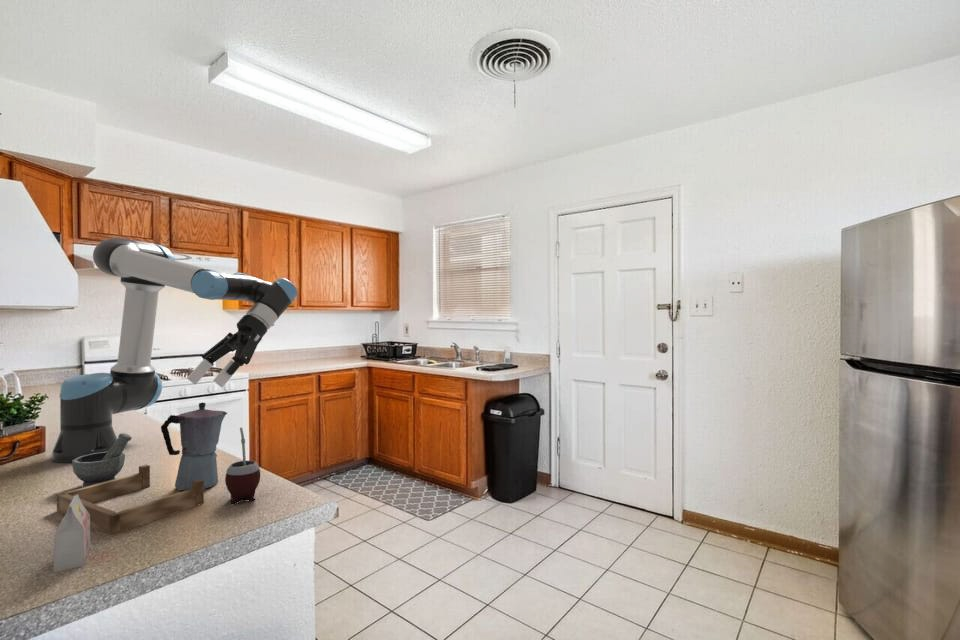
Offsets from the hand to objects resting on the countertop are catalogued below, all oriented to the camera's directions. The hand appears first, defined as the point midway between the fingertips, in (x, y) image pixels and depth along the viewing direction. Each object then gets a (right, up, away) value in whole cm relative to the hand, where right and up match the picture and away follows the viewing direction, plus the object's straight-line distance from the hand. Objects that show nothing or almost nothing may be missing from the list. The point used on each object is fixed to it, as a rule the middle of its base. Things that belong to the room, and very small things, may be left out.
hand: (203, 382), depth 121 cm
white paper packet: (+3, -24, -42) cm, 49 cm away
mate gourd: (+18, -24, -16) cm, 34 cm away
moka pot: (+3, -24, -8) cm, 26 cm away
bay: (-3, -24, -21) cm, 32 cm away
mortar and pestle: (-20, -24, -7) cm, 32 cm away
